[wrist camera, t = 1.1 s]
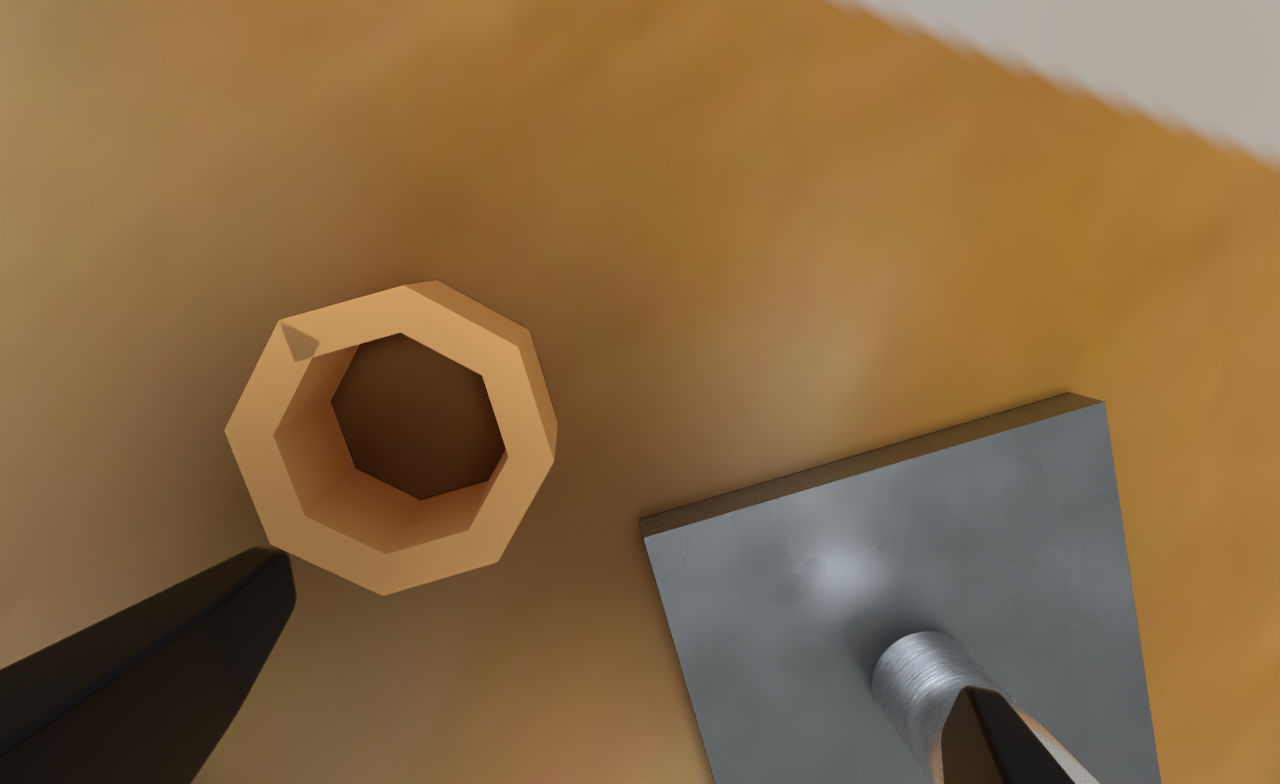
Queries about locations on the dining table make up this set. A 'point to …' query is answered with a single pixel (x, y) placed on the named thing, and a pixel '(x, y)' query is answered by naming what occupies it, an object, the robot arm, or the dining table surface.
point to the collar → (358, 503)
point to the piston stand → (913, 605)
